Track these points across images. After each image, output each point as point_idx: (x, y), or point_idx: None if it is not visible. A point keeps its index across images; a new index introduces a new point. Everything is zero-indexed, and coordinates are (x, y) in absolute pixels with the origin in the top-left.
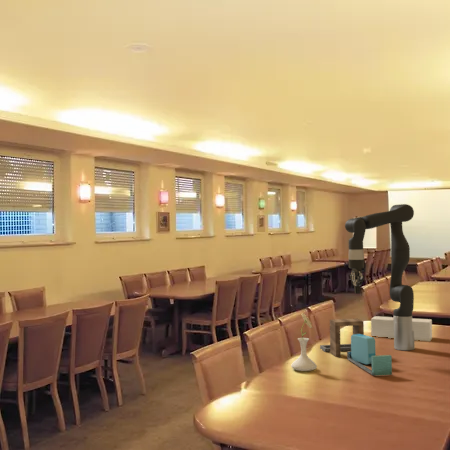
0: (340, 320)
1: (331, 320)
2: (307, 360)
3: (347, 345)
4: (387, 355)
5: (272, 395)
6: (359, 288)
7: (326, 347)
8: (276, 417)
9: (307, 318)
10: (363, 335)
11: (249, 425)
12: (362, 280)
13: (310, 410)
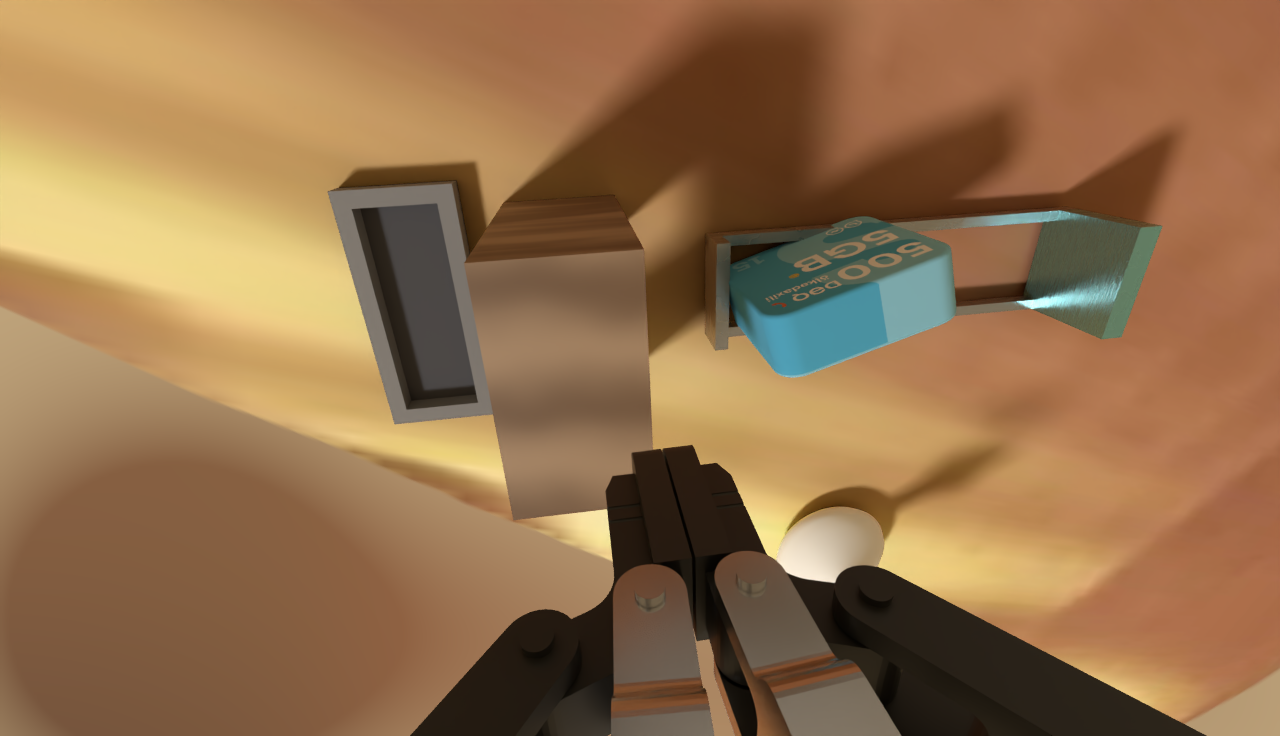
0: (571, 447)
1: (561, 513)
2: (871, 564)
3: (362, 239)
4: (1144, 247)
5: (1049, 636)
6: (750, 522)
7: (404, 383)
8: (1195, 632)
9: None
10: (858, 309)
11: (1201, 675)
12: (1092, 694)
13: (1205, 566)
